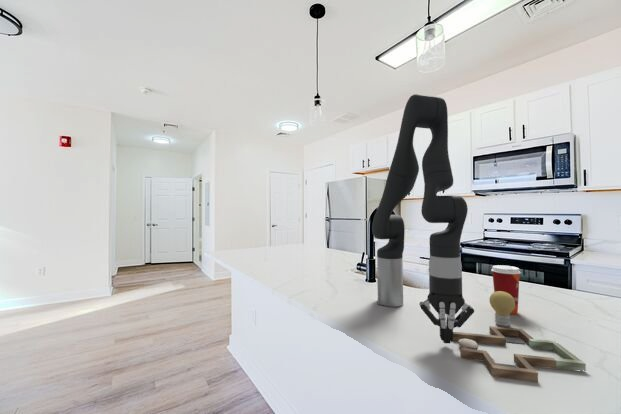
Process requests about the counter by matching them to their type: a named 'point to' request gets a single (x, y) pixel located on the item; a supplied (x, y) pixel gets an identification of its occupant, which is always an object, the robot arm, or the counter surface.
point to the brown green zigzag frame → (522, 361)
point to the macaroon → (468, 344)
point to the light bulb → (502, 307)
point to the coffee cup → (507, 282)
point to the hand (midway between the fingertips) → (446, 341)
